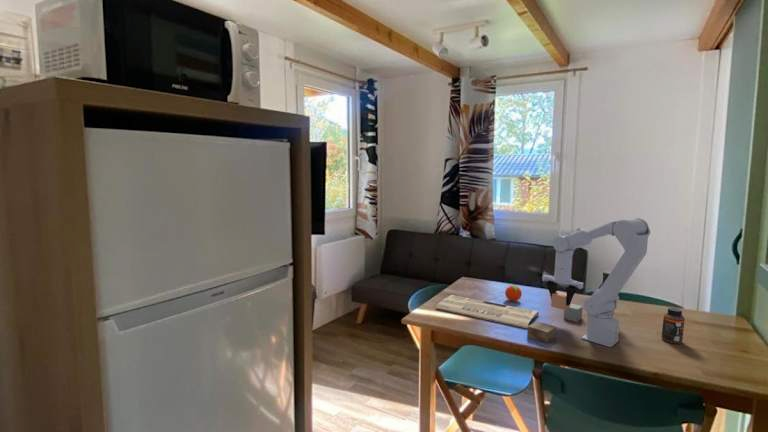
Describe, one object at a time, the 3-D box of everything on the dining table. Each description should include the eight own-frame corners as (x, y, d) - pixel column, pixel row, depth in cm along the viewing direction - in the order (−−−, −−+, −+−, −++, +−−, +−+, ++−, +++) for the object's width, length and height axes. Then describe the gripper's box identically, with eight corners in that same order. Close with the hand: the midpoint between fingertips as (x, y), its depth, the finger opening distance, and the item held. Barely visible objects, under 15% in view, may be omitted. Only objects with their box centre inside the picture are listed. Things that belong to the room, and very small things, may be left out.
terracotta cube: (570, 306, 157) (570, 294, 156) (564, 310, 153) (565, 296, 153) (556, 303, 160) (557, 291, 160) (551, 306, 157) (551, 293, 156)
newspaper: (538, 316, 167) (538, 309, 167) (526, 332, 151) (526, 324, 151) (453, 299, 187) (453, 293, 187) (434, 311, 171) (434, 305, 170)
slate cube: (581, 318, 164) (582, 306, 163) (576, 321, 161) (577, 309, 160) (568, 315, 168) (569, 303, 167) (563, 318, 164) (564, 306, 164)
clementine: (524, 304, 179) (525, 288, 178) (508, 304, 179) (508, 288, 178) (518, 298, 187) (519, 283, 186) (503, 298, 187) (503, 282, 186)
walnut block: (555, 337, 145) (556, 326, 145) (546, 343, 140) (547, 332, 140) (536, 331, 150) (537, 321, 150) (527, 337, 145) (527, 326, 145)
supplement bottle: (682, 345, 140) (686, 313, 139) (661, 341, 143) (664, 310, 142) (681, 339, 145) (684, 308, 144) (661, 335, 148) (664, 305, 147)
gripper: (587, 269, 153) (584, 305, 154) (548, 262, 163) (546, 296, 165) (580, 272, 148) (577, 309, 150) (540, 265, 158) (538, 300, 160)
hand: (560, 303), depth 157 cm, fingers closed on terracotta cube, 5 cm apart
